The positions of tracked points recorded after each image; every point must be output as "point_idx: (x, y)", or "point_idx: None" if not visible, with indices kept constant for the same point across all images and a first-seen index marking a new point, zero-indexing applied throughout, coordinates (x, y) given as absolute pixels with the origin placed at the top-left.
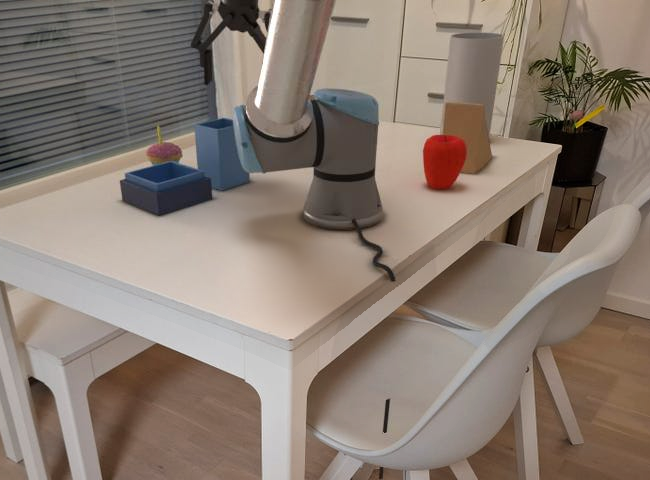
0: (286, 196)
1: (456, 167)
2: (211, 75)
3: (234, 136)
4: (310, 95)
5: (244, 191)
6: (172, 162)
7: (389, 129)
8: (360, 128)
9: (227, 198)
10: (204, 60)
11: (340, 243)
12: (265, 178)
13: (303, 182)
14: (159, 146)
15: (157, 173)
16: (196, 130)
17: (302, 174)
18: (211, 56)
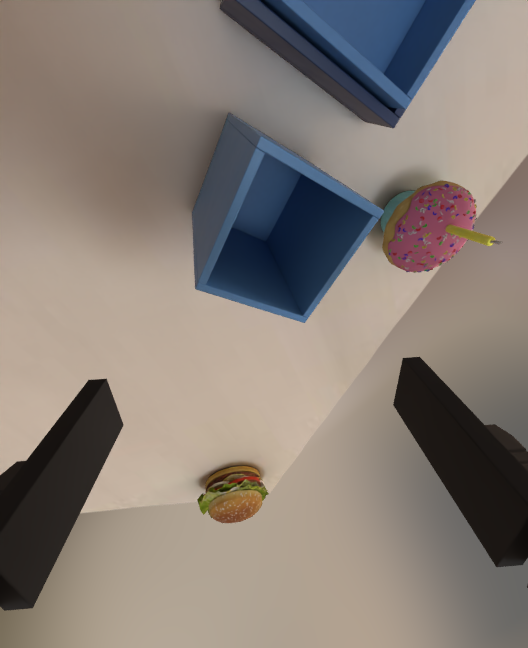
0: (12, 114)
1: None
2: (406, 416)
3: (217, 214)
4: (246, 516)
5: (163, 128)
6: (399, 89)
7: (122, 495)
8: None
9: (175, 32)
10: (512, 460)
11: None
12: (170, 249)
13: (63, 250)
14: (452, 219)
15: (432, 25)
16: (366, 199)
17: (107, 299)
18: (466, 513)
